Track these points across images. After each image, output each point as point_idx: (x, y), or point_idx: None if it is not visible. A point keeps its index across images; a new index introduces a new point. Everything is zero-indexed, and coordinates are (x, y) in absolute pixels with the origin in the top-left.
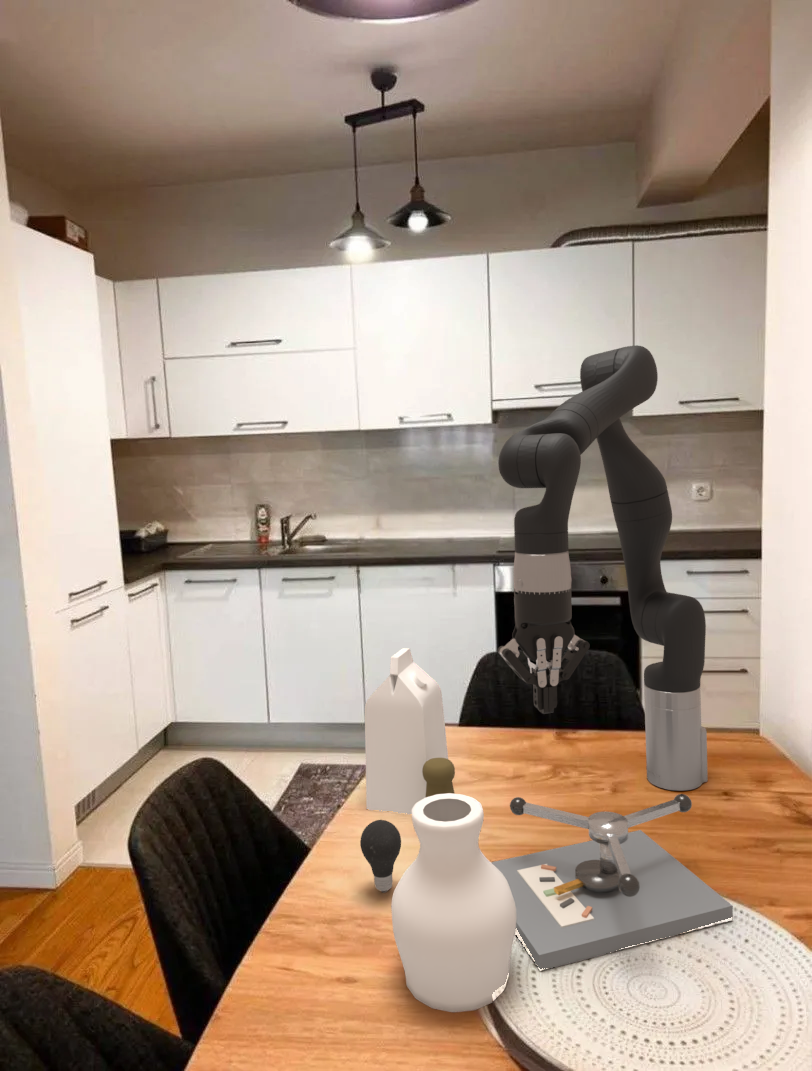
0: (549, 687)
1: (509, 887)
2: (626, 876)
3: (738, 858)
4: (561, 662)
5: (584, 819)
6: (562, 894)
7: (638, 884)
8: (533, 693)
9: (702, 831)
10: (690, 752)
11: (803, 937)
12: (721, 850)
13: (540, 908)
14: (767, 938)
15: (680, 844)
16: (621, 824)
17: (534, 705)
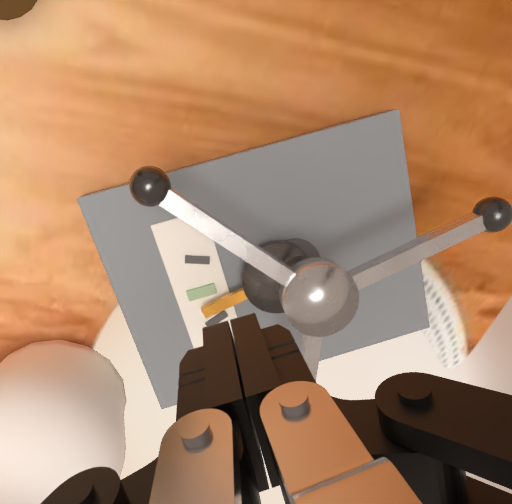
0: (277, 482)
1: (110, 459)
2: None
3: (506, 178)
4: (489, 475)
5: (281, 279)
6: (214, 296)
7: None
8: (178, 399)
9: (502, 85)
10: None
11: (474, 347)
12: (496, 152)
13: (176, 322)
14: (437, 348)
15: (447, 124)
16: (342, 318)
17: (184, 356)
